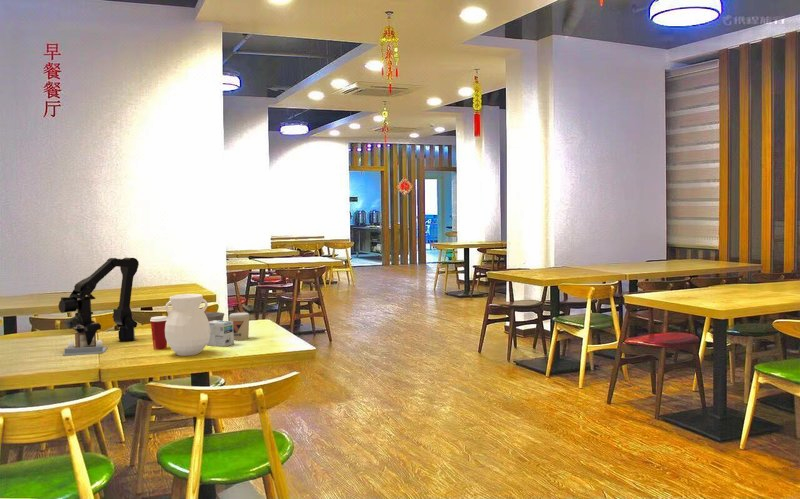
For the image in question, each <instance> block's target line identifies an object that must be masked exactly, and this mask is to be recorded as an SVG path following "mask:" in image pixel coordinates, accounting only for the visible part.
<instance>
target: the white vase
mask: <svg viewBox="0 0 800 499" xmlns="http://www.w3.org/2000/svg"><path fill="white" fill-rule="evenodd" d="M202 303H204V306H203V307H202V308H200V306H201V304H202ZM169 305H171V306H172V309H171V310H170V309H169ZM208 305H209V304H208V302H207V300H206V299H204V297H203V294H199V293H182V294H181V293H179V294H174V295H170V296H169V300H168V302H166V304H165V306H164V307H165V309H164V310H165V311H166V312H167V321H166V324H165V338H166V341H167V346H168V347H170V349H171V350H172V351H173V352H174V353H175V355H177V356H182V357H185V356H186V357H187V356H195V355H199V354H200V353H201V352H202V351H203V350H204V349H205V348H206V346H208V345H207V344H208V342H209V339H210V325H209V321H208V319H207V316H206V315H205V313H204V312H206V310H207V309H208Z"/></svg>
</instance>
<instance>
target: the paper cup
mask: <svg viewBox="0 0 800 499" xmlns="http://www.w3.org/2000/svg"><path fill="white" fill-rule="evenodd" d="M167 318H168V315H166V316H165V315H160V316H159V315H158V316H151V317H150V320H149V321H150V326H151V327H150V328H151V336H152V337H151V338H152V346H153V350H156V351H157V350H164V349H165V350H166V349H167V346H168V343H167V341H166V338H165V324H166V321H167Z"/></svg>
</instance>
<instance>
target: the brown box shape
mask: <svg viewBox="0 0 800 499" xmlns="http://www.w3.org/2000/svg"><path fill="white" fill-rule="evenodd" d="M74 341H75V342H74V348H82V347H97V342H96V341H97V332H96V333H95V335H94V337H93V340H92V342H91V344H90V345H87V340H86V334H85V333H84V332H81V333H77V332H76V333H74Z"/></svg>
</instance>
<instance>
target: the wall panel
mask: <svg viewBox="0 0 800 499" xmlns="http://www.w3.org/2000/svg"><path fill="white" fill-rule="evenodd" d="M103 345H104V344H103V340H102V339H98V340H97V339H96V347H82V348H76V347H75V342H74V341H68V342H67V348H64V350H63V351H64V352H63V353H62V356H63V357H65V356H66V357H69V356H81V355H83V356H84V355H98V354H99V355H100V354H104V353H105V352H106V351H107V349H108V346H103Z"/></svg>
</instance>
